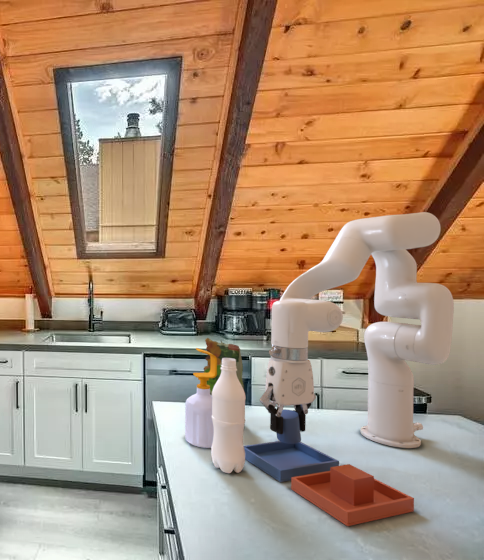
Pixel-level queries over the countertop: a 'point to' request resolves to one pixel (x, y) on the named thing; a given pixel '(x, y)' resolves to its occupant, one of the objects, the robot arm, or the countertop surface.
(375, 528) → the countertop surface
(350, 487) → the block
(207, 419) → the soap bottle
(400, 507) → the terracotta tray
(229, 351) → the pouch
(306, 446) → the blue tray
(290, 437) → the blue cylinder
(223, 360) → the water bottle
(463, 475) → the countertop surface
